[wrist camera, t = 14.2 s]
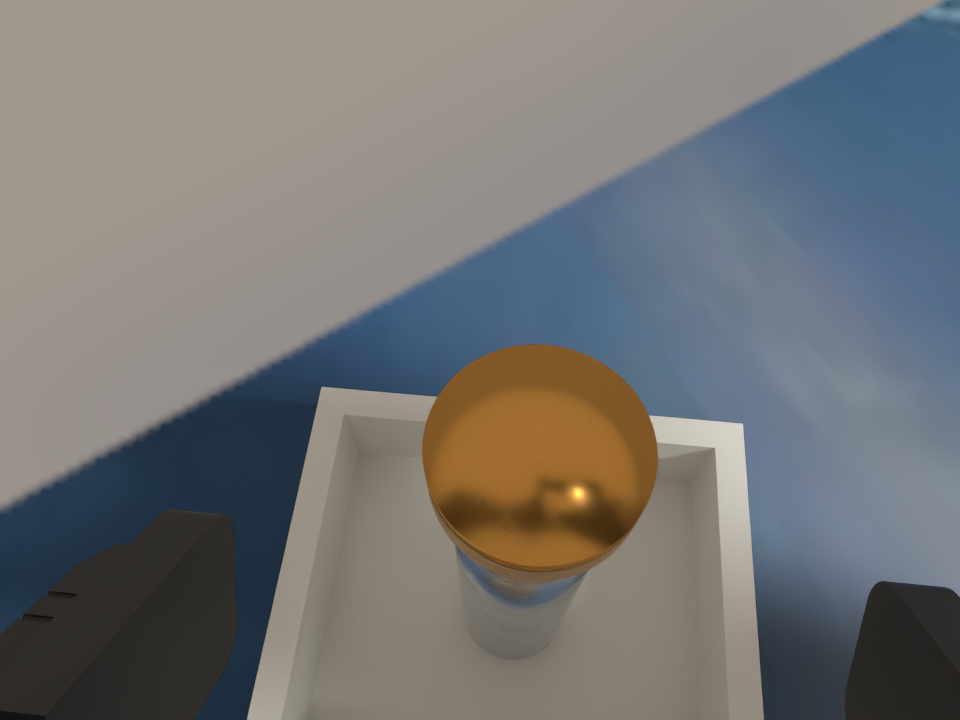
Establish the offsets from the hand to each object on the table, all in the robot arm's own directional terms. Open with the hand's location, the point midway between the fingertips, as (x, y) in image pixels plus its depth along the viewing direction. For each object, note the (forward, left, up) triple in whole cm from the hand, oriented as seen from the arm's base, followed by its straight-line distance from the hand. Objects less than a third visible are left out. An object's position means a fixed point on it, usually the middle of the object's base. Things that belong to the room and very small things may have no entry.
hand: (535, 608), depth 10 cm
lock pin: (0, -2, -12) cm, 13 cm away
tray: (0, -2, -13) cm, 13 cm away
